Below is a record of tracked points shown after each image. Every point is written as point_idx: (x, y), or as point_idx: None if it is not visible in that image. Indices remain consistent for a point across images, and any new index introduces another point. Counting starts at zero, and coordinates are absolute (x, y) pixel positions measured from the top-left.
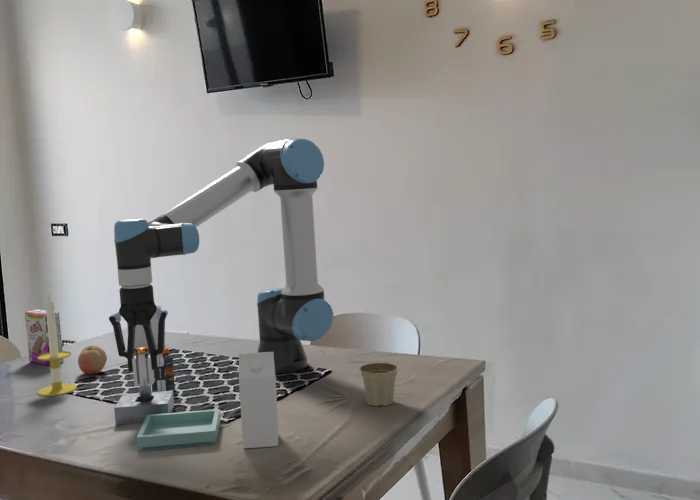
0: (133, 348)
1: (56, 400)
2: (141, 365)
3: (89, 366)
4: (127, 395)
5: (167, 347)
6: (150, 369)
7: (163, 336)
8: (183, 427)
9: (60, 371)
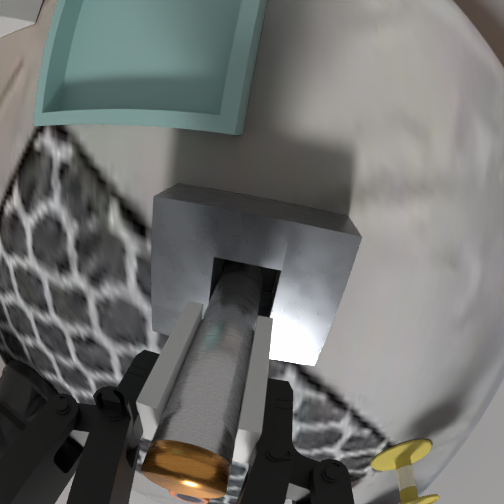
0: (238, 499)
1: (422, 423)
2: (210, 382)
3: None
4: (300, 352)
5: (171, 493)
6: (168, 350)
7: (4, 466)
8: (133, 69)
9: (400, 483)
